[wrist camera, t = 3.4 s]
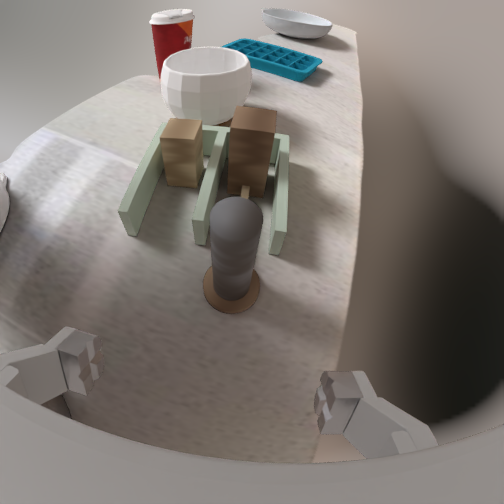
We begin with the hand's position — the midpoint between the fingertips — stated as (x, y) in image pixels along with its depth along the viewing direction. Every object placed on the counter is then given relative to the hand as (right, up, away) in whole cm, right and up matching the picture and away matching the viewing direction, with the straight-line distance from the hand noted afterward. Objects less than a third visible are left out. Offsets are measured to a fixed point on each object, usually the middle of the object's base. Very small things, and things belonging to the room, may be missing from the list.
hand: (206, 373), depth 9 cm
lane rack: (-3, +10, +22) cm, 25 cm away
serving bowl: (+14, +69, +59) cm, 92 cm away
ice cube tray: (+5, +44, +44) cm, 62 cm away
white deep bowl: (-5, +24, +30) cm, 39 cm away
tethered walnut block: (0, +6, +20) cm, 21 cm away
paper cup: (-13, +36, +37) cm, 53 cm away
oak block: (-6, +13, +23) cm, 27 cm away
